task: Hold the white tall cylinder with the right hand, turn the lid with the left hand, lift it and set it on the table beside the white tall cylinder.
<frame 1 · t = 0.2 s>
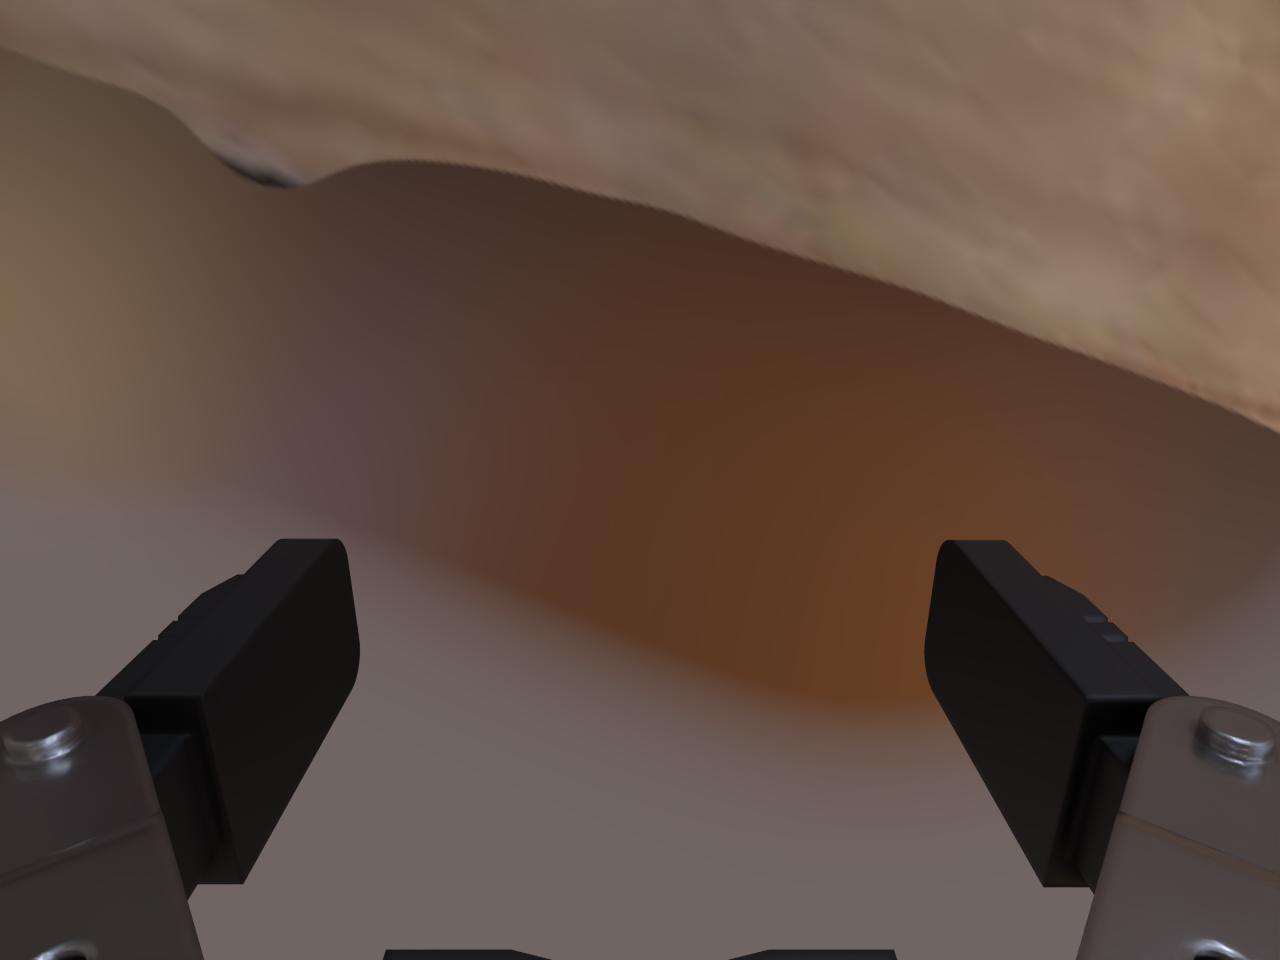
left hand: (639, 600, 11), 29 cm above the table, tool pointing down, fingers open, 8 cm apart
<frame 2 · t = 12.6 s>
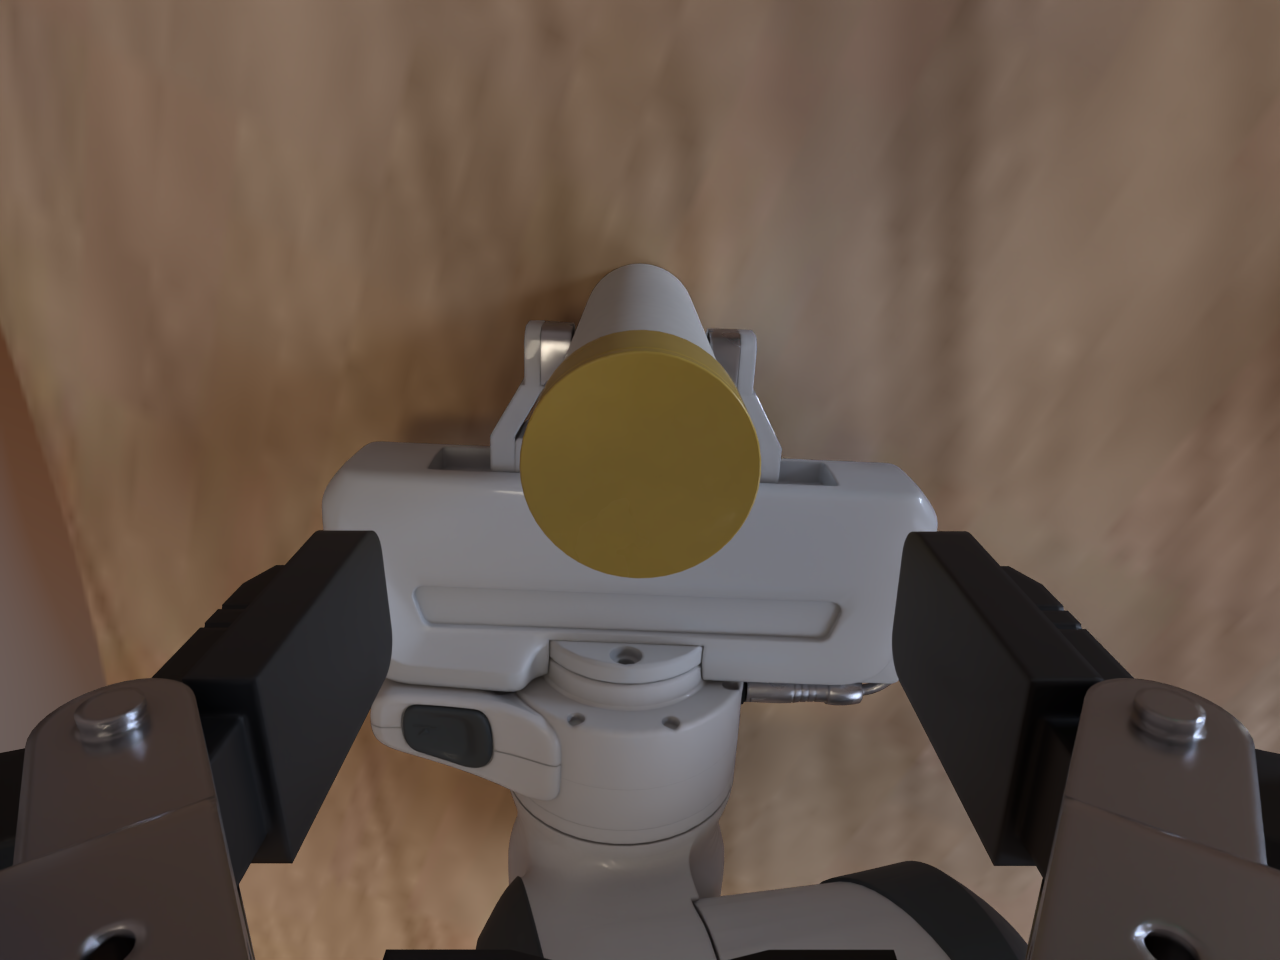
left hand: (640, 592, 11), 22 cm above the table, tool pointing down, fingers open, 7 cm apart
right hand: (639, 327, 26), fingers closed on white tall cylinder, 4 cm apart
white tall cylinder: (639, 319, 32), on the table, touching right hand
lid: (640, 465, 16), point 17 cm above the table, screwed on, not yet turned
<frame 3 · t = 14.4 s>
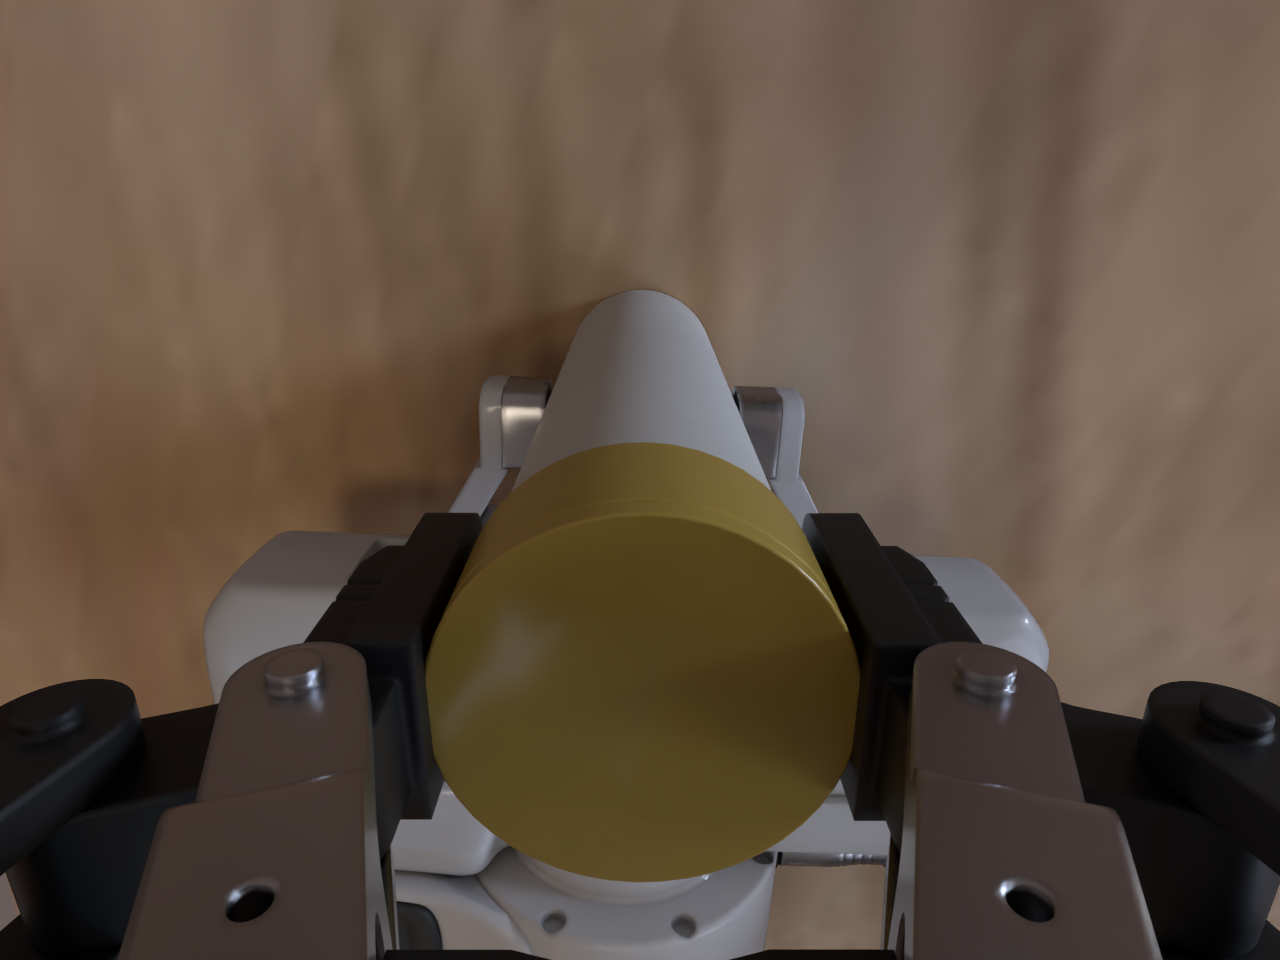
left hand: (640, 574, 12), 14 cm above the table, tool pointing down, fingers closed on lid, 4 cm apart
white tall cylinder: (640, 361, 25), on the table, touching right hand
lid: (642, 696, 9), point 17 cm above the table, screwed on, not yet turned, touching left hand
when the left hand's fingers open (15 cm above the table, at t = 15.9 s): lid stays where it is, point 17 cm above the table.
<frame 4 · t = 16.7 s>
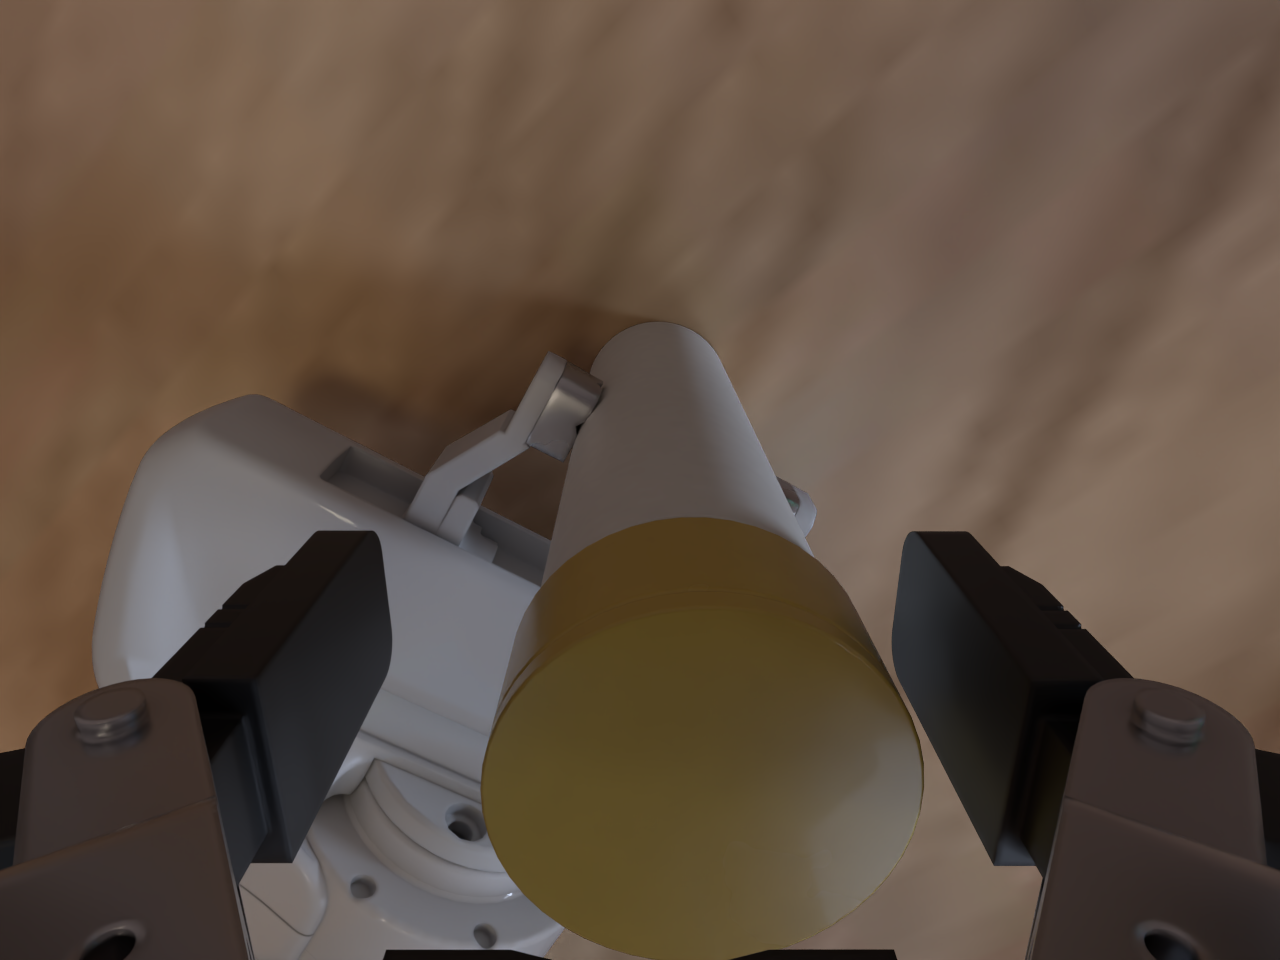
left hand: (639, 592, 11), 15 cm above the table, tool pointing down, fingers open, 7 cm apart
right hand: (682, 429, 19), fingers closed on white tall cylinder, 4 cm apart
white tall cylinder: (657, 391, 25), on the table, touching right hand
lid: (699, 779, 9), point 17 cm above the table, turned 85° so far, risen 0.2 cm, still on its thread
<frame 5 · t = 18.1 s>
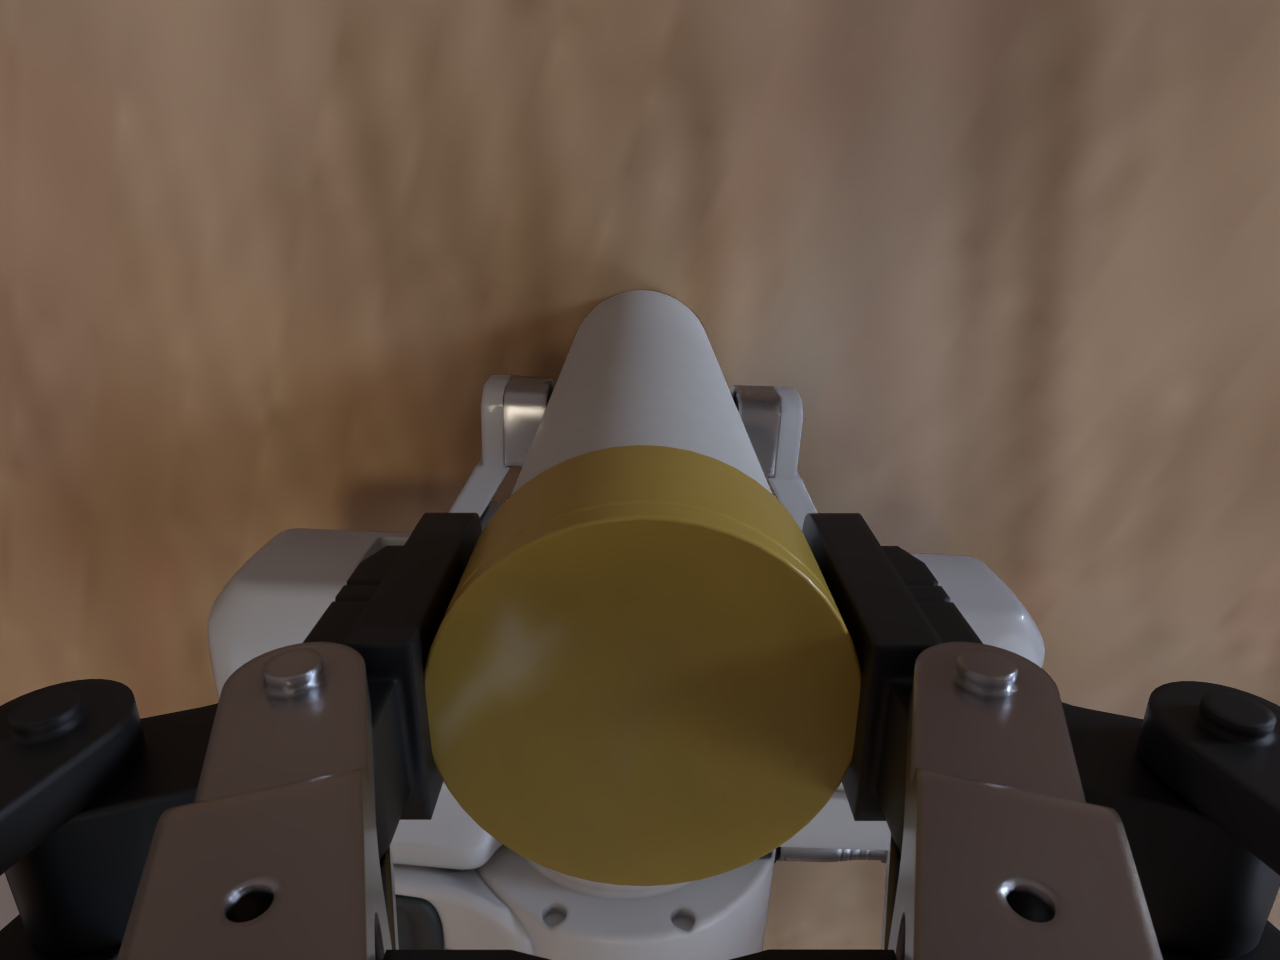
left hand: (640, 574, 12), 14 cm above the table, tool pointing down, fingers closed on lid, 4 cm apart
white tall cylinder: (641, 360, 25), on the table, touching right hand
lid: (642, 700, 9), point 17 cm above the table, turned 85° so far, risen 0.2 cm, still on its thread, touching left hand
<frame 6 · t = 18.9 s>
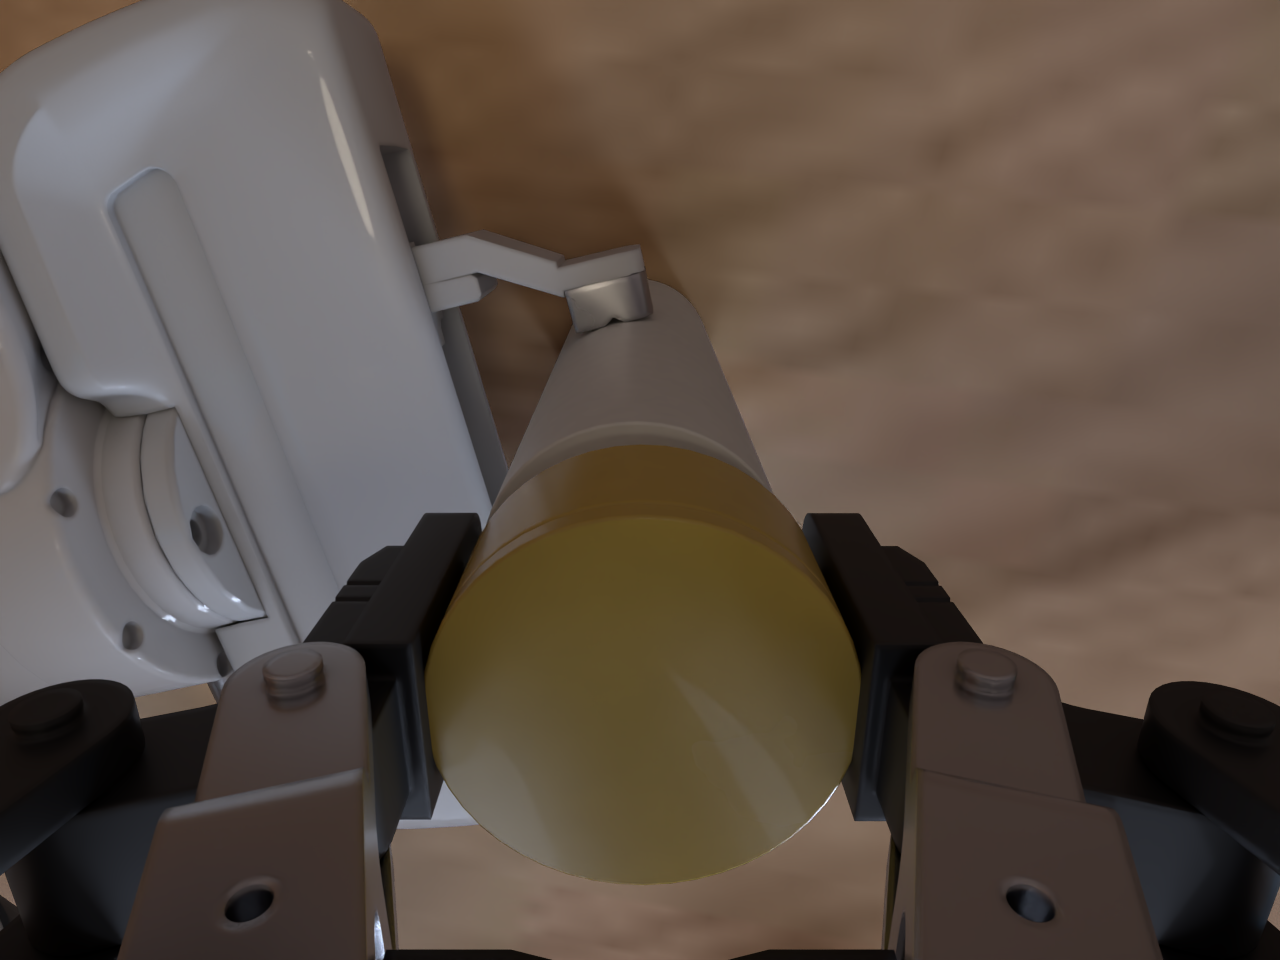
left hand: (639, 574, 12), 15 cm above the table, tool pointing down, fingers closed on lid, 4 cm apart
right hand: (673, 397, 19), fingers closed on white tall cylinder, 4 cm apart
white tall cylinder: (637, 349, 25), on the table, touching right hand
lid: (642, 699, 9), point 18 cm above the table, off its thread, touching left hand
when the left hand's fingers open (0 cm above the table, at t = 23.8 s): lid drops 1 cm, point 2 cm above the table.
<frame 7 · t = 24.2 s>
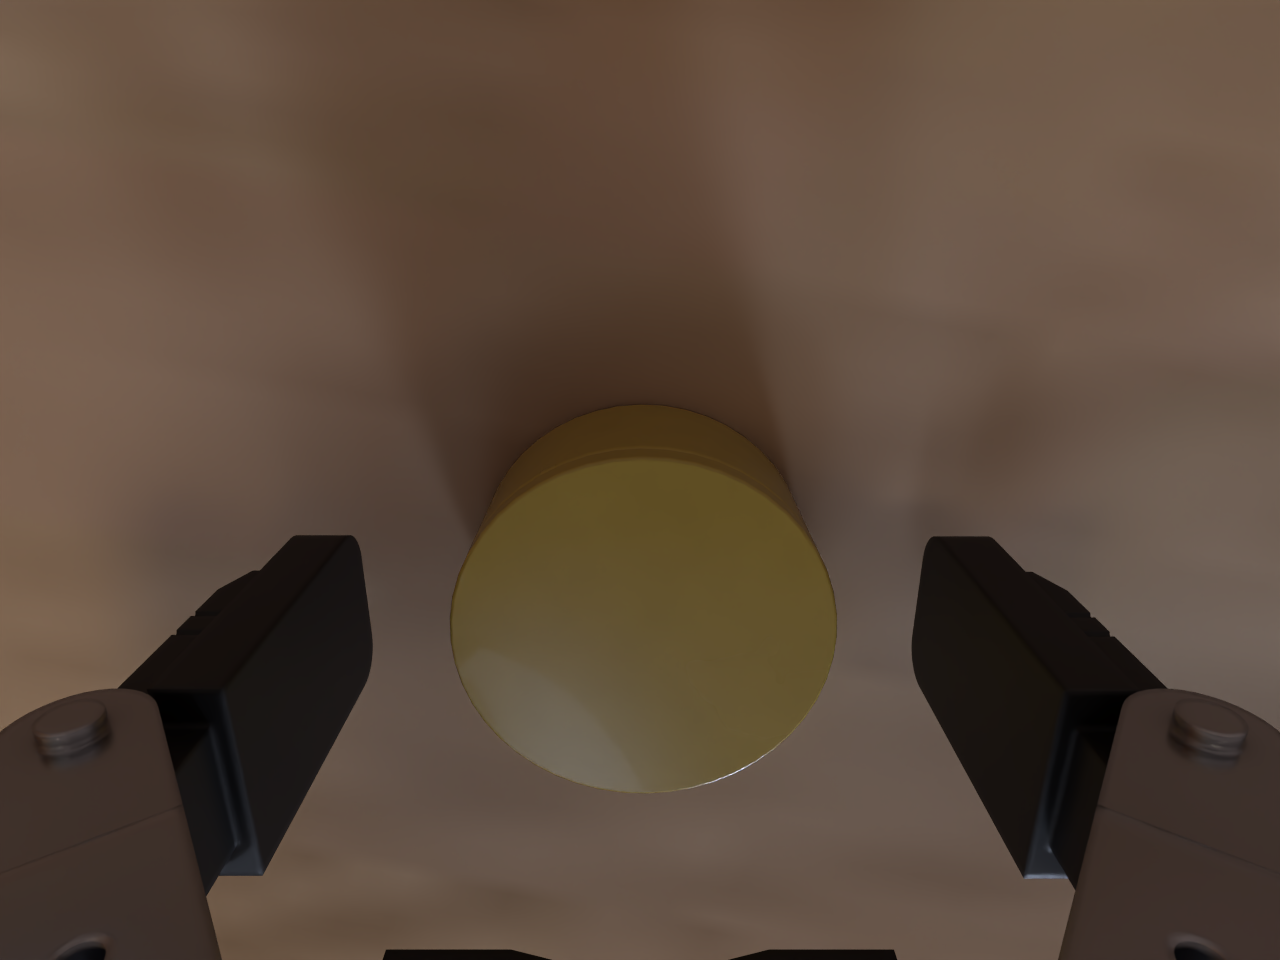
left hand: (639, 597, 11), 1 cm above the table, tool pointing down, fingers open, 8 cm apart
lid: (643, 625, 10), point 2 cm above the table, off its thread
when the right hand's fingers open (7 cm above the table, at t = 24.9 s): white tall cylinder stays where it is, on the table.
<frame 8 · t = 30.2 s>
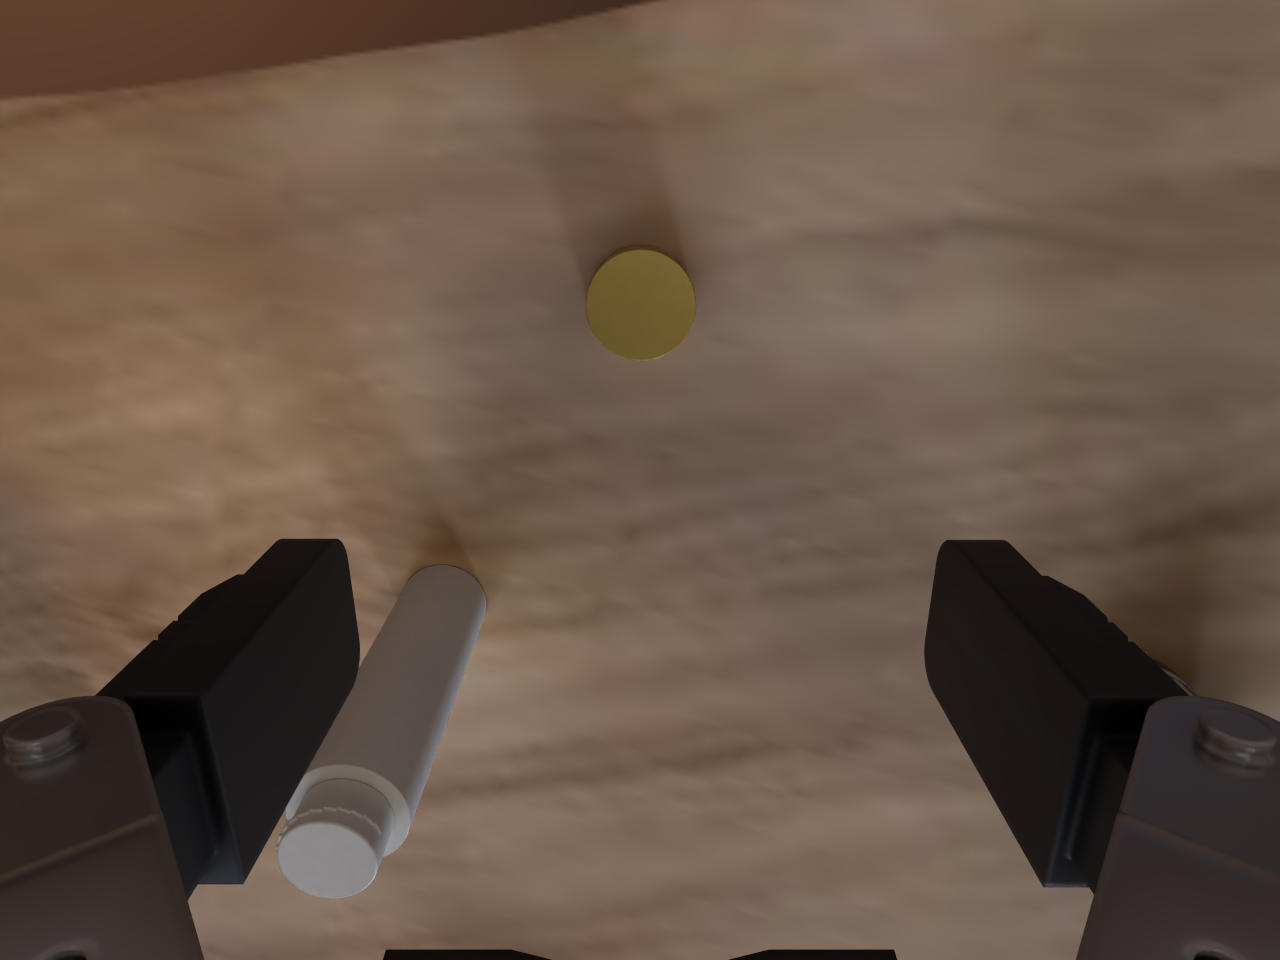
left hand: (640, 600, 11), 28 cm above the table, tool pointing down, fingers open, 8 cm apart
white tall cylinder: (445, 601, 42), on the table
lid: (640, 305, 35), point 2 cm above the table, off its thread
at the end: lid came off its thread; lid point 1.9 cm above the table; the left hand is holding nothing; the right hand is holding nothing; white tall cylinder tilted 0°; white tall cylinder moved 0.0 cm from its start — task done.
